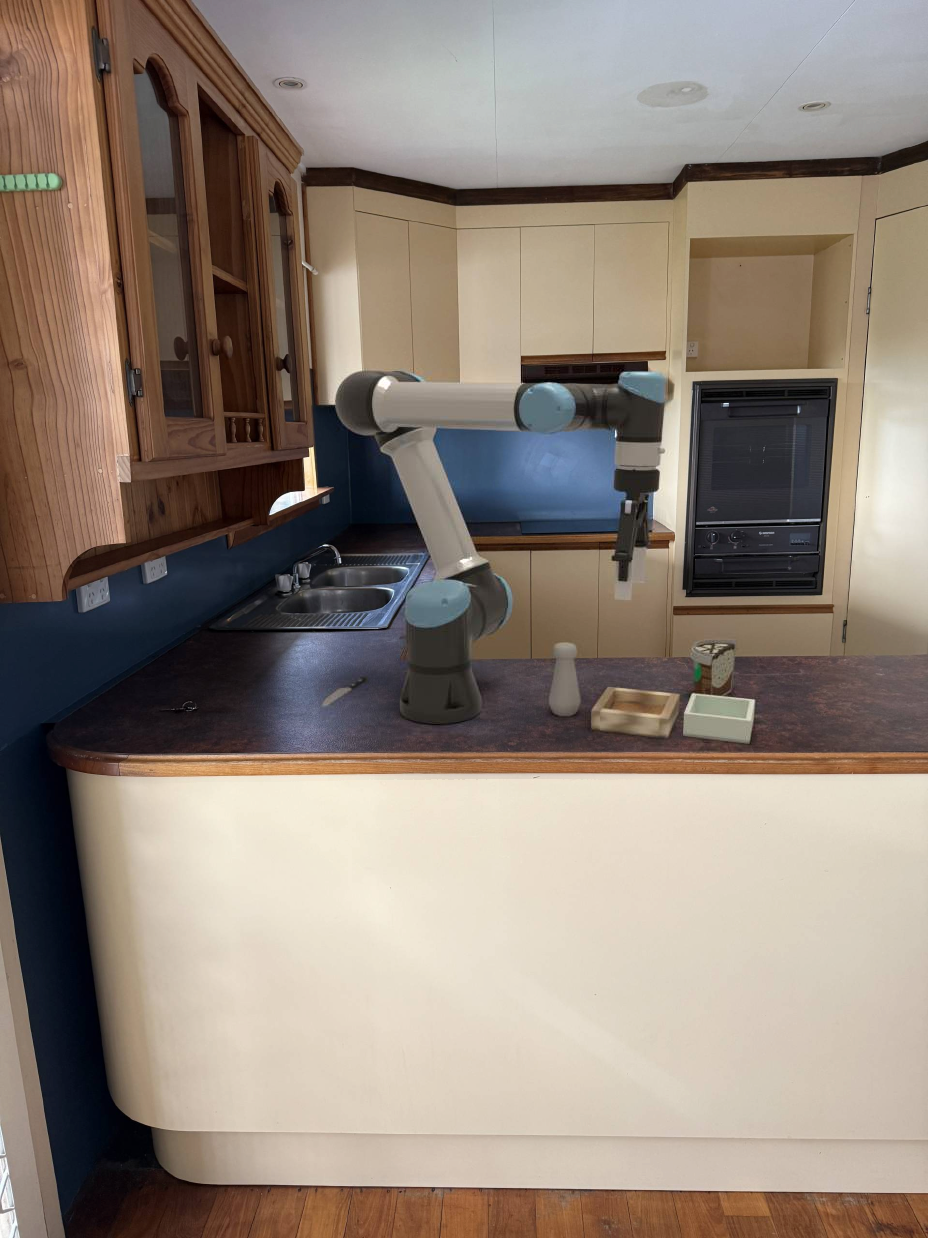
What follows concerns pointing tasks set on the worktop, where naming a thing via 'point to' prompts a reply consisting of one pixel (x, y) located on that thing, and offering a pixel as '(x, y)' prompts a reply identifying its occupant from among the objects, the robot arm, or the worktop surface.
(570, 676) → the salt shaker
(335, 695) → the chef's knife
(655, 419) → the robot arm
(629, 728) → the beige square tray
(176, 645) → the worktop surface
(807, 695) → the worktop surface
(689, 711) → the bin
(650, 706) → the plate
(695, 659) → the food container
